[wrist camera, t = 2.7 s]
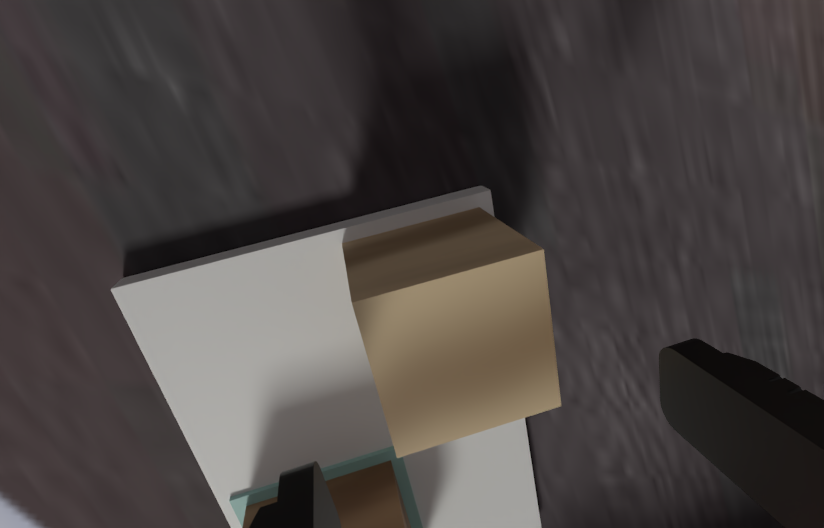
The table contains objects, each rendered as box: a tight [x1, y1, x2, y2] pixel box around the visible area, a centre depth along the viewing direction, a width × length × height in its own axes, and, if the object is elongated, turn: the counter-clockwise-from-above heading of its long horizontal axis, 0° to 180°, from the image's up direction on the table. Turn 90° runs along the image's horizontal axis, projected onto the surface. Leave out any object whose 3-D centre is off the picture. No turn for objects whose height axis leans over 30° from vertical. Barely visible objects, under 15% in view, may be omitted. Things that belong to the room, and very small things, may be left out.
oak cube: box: [342, 207, 561, 458], centre depth 15 cm, size 5×5×5 cm
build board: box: [111, 185, 541, 528], centre depth 19 cm, size 18×13×1 cm
